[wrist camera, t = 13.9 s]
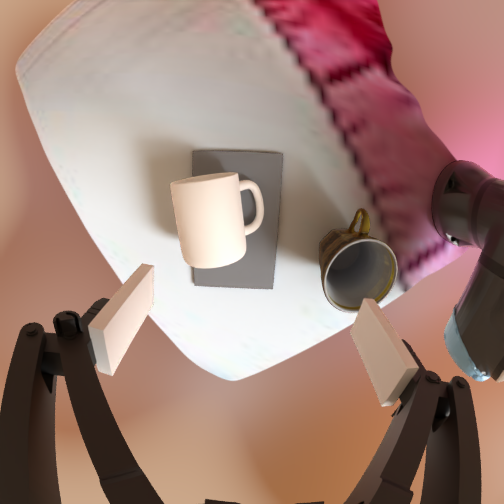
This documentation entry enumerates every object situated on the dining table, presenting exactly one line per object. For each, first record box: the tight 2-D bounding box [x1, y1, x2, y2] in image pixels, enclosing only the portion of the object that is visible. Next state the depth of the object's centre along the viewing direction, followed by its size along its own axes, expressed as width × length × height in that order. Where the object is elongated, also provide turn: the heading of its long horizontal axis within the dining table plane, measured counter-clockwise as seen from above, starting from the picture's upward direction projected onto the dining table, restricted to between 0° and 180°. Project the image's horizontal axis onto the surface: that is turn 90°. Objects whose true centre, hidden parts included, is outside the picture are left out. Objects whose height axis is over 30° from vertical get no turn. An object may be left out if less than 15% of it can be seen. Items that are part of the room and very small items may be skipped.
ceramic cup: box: [319, 208, 398, 313], centre depth 35 cm, size 13×10×10 cm
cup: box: [170, 172, 264, 268], centre depth 34 cm, size 8×12×10 cm
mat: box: [193, 151, 283, 289], centre depth 38 cm, size 20×12×1 cm, turn 177°
